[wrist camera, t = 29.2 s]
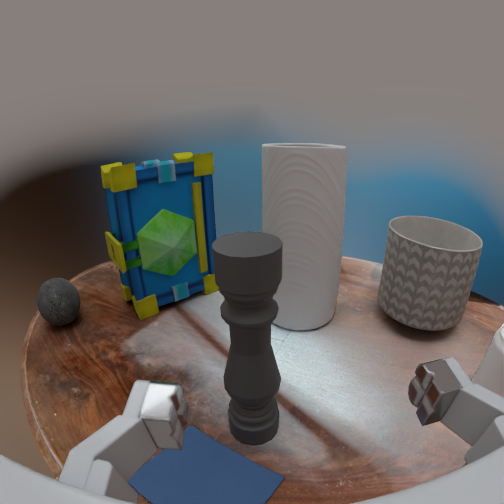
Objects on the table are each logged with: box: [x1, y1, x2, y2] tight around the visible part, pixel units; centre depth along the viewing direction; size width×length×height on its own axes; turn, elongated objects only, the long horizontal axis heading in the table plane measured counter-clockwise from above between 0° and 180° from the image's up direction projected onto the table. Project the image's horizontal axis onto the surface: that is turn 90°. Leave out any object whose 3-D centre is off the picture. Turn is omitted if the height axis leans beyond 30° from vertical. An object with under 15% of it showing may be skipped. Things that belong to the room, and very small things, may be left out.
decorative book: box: [101, 152, 219, 320], centre depth 60 cm, size 14×23×30 cm, turn 130°
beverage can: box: [472, 324, 504, 397], centre depth 29 cm, size 8×8×12 cm
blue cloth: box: [127, 425, 285, 504], centre depth 25 cm, size 12×14×1 cm
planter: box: [378, 216, 483, 331], centre depth 50 cm, size 19×19×18 cm
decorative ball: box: [37, 278, 80, 326], centre depth 52 cm, size 10×10×10 cm
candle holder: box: [212, 232, 283, 445], centre depth 29 cm, size 6×6×25 cm
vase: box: [262, 143, 346, 330], centre depth 52 cm, size 14×14×32 cm
